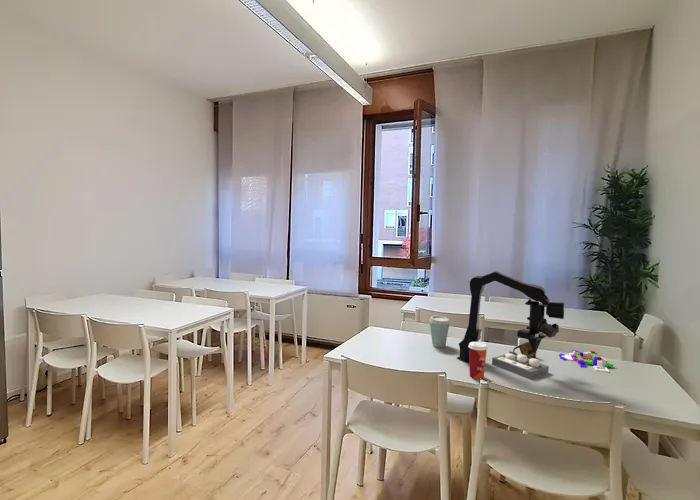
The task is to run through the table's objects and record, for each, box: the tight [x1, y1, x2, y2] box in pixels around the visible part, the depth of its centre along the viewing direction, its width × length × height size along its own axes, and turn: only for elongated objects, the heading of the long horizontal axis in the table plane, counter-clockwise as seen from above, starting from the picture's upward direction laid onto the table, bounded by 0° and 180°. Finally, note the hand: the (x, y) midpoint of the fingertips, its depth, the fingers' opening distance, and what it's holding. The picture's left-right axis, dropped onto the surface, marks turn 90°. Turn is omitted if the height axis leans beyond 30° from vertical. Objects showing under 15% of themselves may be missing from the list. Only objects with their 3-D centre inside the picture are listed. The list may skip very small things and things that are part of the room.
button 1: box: [504, 352, 515, 360], centre depth 180 cm, size 4×4×3 cm
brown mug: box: [508, 341, 537, 358], centre depth 190 cm, size 7×13×10 cm
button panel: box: [491, 353, 550, 380], centre depth 175 cm, size 13×19×3 cm
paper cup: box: [468, 341, 488, 380], centre depth 164 cm, size 8×8×14 cm
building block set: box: [558, 349, 614, 374], centre depth 186 cm, size 25×20×4 cm
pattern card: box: [497, 357, 532, 370], centre depth 172 cm, size 4×15×1 cm, turn 32°
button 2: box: [529, 357, 541, 368], centre depth 170 cm, size 4×4×3 cm
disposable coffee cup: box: [428, 315, 451, 348], centre depth 203 cm, size 11×11×15 cm
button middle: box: [517, 353, 528, 364], centre depth 175 cm, size 4×4×3 cm
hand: (534, 351), depth 170 cm, fingers closed
